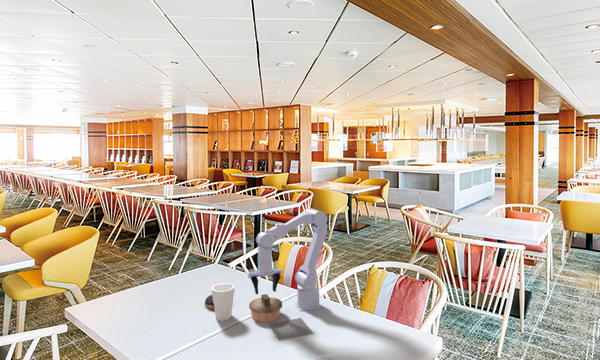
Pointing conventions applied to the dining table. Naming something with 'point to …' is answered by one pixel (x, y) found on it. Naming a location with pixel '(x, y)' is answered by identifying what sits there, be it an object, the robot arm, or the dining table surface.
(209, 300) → the donut
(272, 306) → the lid
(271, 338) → the dining table surface
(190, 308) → the dining table surface
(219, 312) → the foam cup
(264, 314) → the bowl
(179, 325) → the dining table surface
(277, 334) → the mat
